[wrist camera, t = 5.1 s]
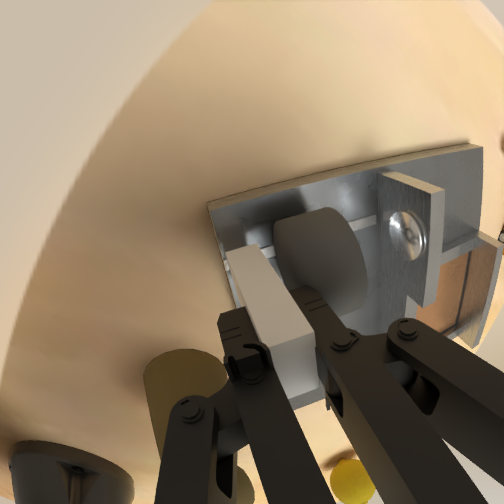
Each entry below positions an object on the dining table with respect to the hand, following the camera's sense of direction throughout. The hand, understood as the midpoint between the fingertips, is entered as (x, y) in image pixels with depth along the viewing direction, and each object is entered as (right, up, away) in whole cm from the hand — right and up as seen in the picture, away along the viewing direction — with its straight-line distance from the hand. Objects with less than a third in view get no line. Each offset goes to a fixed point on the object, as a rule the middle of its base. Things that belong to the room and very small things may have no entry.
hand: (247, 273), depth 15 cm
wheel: (+3, +1, +2) cm, 4 cm away
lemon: (+12, -26, +19) cm, 35 cm away
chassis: (+9, -1, +7) cm, 11 cm away
